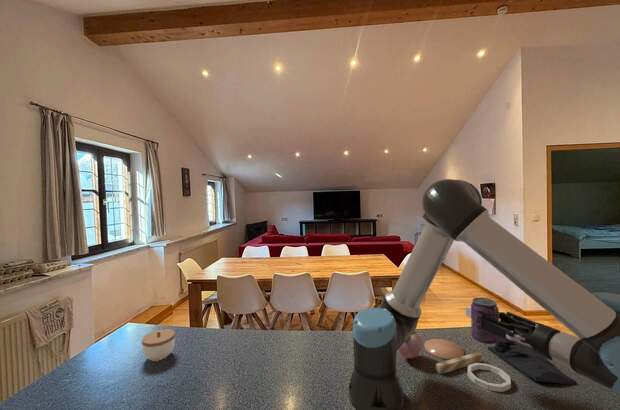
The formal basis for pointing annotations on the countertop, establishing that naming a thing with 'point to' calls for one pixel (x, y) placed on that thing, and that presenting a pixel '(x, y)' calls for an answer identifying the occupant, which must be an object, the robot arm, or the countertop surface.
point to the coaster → (443, 349)
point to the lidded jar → (158, 344)
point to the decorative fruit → (411, 346)
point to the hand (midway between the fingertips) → (472, 309)
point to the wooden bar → (458, 362)
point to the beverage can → (477, 311)
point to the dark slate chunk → (529, 362)
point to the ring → (484, 384)
